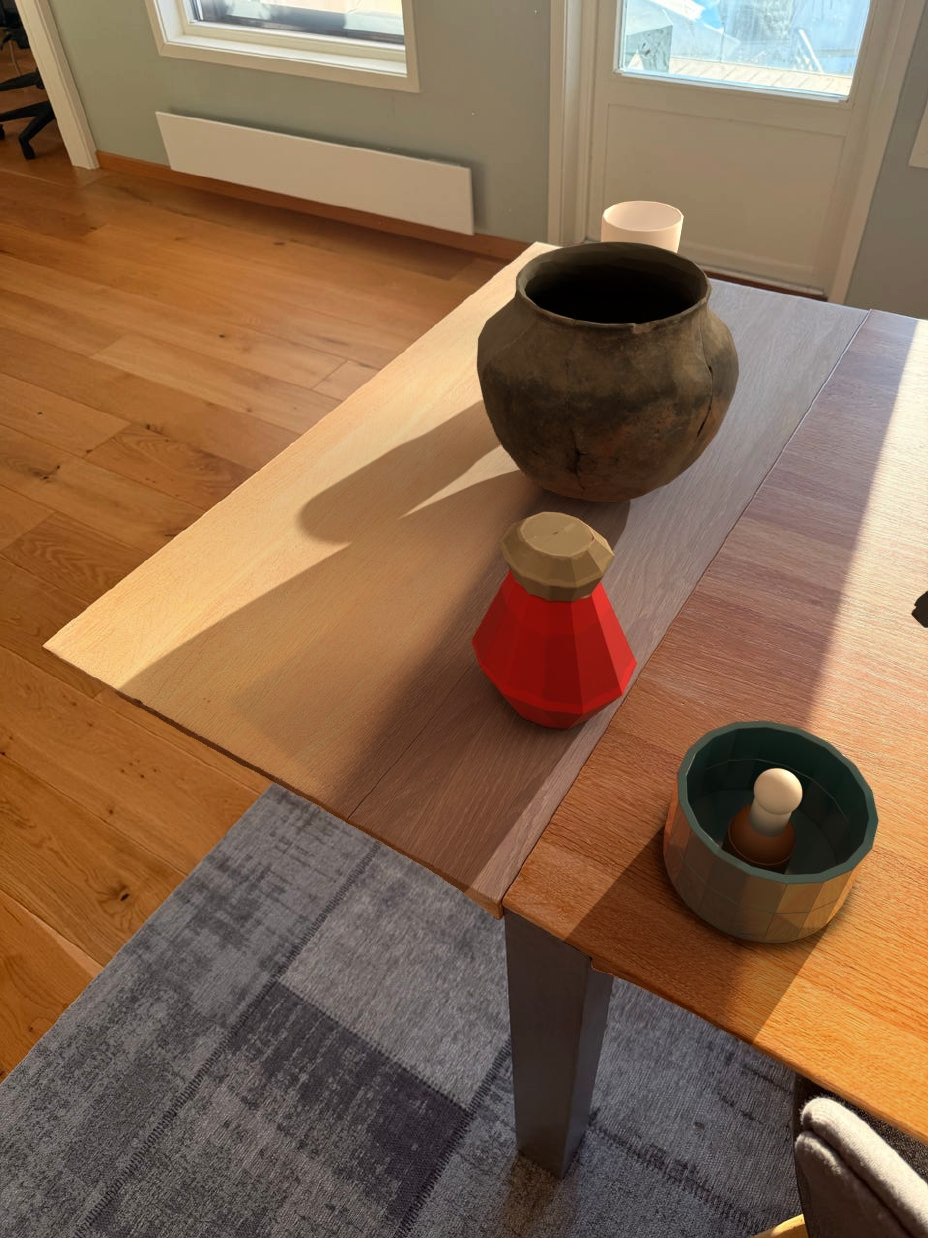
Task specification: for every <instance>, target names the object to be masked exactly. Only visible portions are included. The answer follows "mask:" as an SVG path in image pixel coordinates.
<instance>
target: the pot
mask: <svg viewBox="0 0 928 1238" xmlns="http://www.w3.org/2000/svg"><path fill="white" fill-rule="evenodd" d="M712 291H713V286H712V283H711V281H710V278H709V277H708V276H707V274H706V273H705V272H704V270H703V269H702V268H701V267H700V265H698V264H697V263H695V262H694V261H692V260H691V259H689V258H688V257H686V256H685V255H682V254H680V253H678V252H677V253H675V252H673V251H670V250H667V249H663V248H660V247H656V246H652V245H647V244H642V243H633V242H610V241H607V242H601V241H597V242H596V241H595V242H585V243H579V244H572V245H567V246H563V247H558V248H556V249H553V250H550V251H546V252H544V253H540V254H539V255H537V256H535V257H533V258H531V259H530V260H529V261H528V262H527V263H526V264H524V266H523V267H522V268H521V269H520V270H519V271H518V273H517V275H516V277H515V292H514V295H513V297H512V298H511V299H510V300H509V301H508V302H507V303H506V304H505V305H504V306H502V307H501V308H500V309H499V310H497V311H496V312H494V314H493V315H492V316H490V317H489V318H488V319H487V320H486V321H485V323H484V325H483V327H482V329H481V331H480V333H479V336H478V337H477V348H476V349H477V353H476V373H477V377H478V382H479V386H480V391H481V396H482V401H483V405H484V409H485V412H486V415H487V418H488V419H489V422H490V424H491V426H492V430H493V431H494V435H495V437H496V439H497V440H498V442H499V444H500V446H501V447H502V449H503V450H504V451H505V452H506V453H507V454H508V455H509V457H510V458H511V459H512V461H513V462H514V463H515V465H516V467H517V468H518V469H519V470H520V471H521V473H523V474H524V475H525V476H526V477H527V478H528V479H529V480H530V481H531V482H533V483H535V484H536V485H538V486H540V487H542V488H543V489H545V490H547V491H550V492H552V493H555V494H556V495H559V496H563V497H568V498H572V499H573V498H574V499H577V500H578V499H579V500H582V501H583V500H584V501H589V502H596V503H615V502H616V503H617V502H624V501H629V500H636V499H638V498H640V497H642V496H645V495H647V494H650V493H651V492H653V491H655V490H657V489H659V488H662V487H665V486H667V485H669V484H670V483H672V482H673V481H675V480H676V479H677V478H678V477H679V476H681V475H682V474H684V473H685V472H686V471H687V470H688V469H689V468H690V467H691V466H692V465H694V463H695V462H696V461H697V460H698V459H699V458H700V457H701V456H702V454H703V453H704V452H705V451H706V450H707V448H708V447H709V445H710V444H711V443H712V441H713V440H714V439H715V437H716V436H717V434H718V433H719V431H720V428H721V426H722V424H723V422H724V420H725V417H726V416H727V414H728V411H729V409H730V406H731V404H732V401H733V398H734V396H735V394H736V391H737V390H736V389H737V385H738V380H739V376H740V366H739V365H740V362H739V356H738V351H737V348H736V344H735V341H734V337H733V334H732V333H731V331H730V328H729V326H728V325H727V324H726V323H725V322H724V321H723V320H722V319H721V318H719V316H718V315H716V314H715V312H714V311H713V310H711V309H710V308H709V301H710V297H711V294H712Z"/></svg>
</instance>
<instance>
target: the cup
mask: <svg viewBox="0 0 928 1238" xmlns="http://www.w3.org/2000/svg"><path fill="white" fill-rule="evenodd" d="M683 221H684V215H683V214H682V212H681V211H680V210H679V209H678V208H677V207H674V206H672V205H670V204H666V203H662V202H658V201H651V200H650V201H649V200H647V201H646V200H633V201H624V202H623V201H622V202H620V203H615V204H613V205H611V206H609V207H608V208H606V209H604V211H603V214H602V216H601V232H600V242H607V241H610V242H633V243H642V244H647V245H652V246H656V247H660V248H663V249H667V250H670V251H673V252H675V253H678V249H679V244H680V240H681V233H682V228H683Z"/></svg>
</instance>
